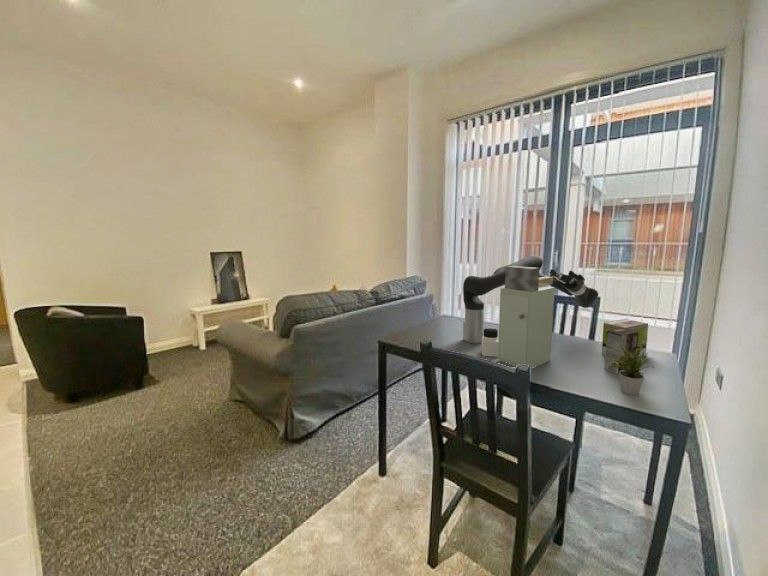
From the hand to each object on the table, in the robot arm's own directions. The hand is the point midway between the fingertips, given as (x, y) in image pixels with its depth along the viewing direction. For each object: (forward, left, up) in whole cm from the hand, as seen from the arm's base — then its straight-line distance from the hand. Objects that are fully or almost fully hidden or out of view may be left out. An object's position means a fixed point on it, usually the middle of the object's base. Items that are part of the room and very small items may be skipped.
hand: (560, 271), depth 158 cm
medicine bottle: (-14, -31, -37) cm, 50 cm away
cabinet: (0, -26, -36) cm, 45 cm away
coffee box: (+29, -6, -37) cm, 47 cm away
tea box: (+23, +14, -37) cm, 46 cm away
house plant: (+38, -22, -37) cm, 57 cm away
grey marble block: (0, -21, -4) cm, 21 cm away
